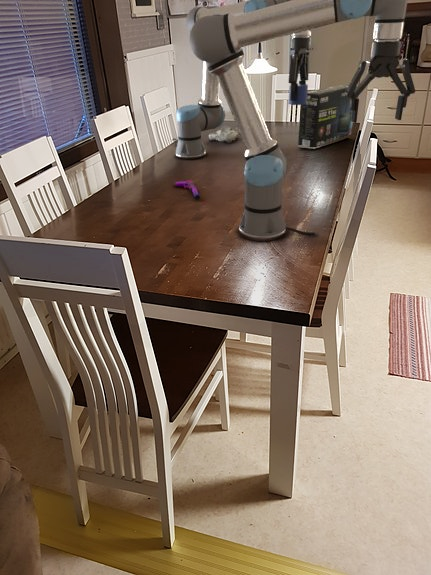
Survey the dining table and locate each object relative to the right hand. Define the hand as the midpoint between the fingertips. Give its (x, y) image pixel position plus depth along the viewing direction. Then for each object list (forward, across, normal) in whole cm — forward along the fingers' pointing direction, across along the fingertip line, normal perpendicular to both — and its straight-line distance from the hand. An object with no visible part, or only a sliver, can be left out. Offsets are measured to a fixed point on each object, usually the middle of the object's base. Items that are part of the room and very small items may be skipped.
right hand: (375, 120), depth 138 cm
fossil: (+32, +35, -124) cm, 133 cm away
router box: (+32, -18, -104) cm, 111 cm away
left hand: (+3, +9, -62) cm, 63 cm away
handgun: (+32, +58, -41) cm, 78 cm away
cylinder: (+4, +9, -62) cm, 63 cm away
